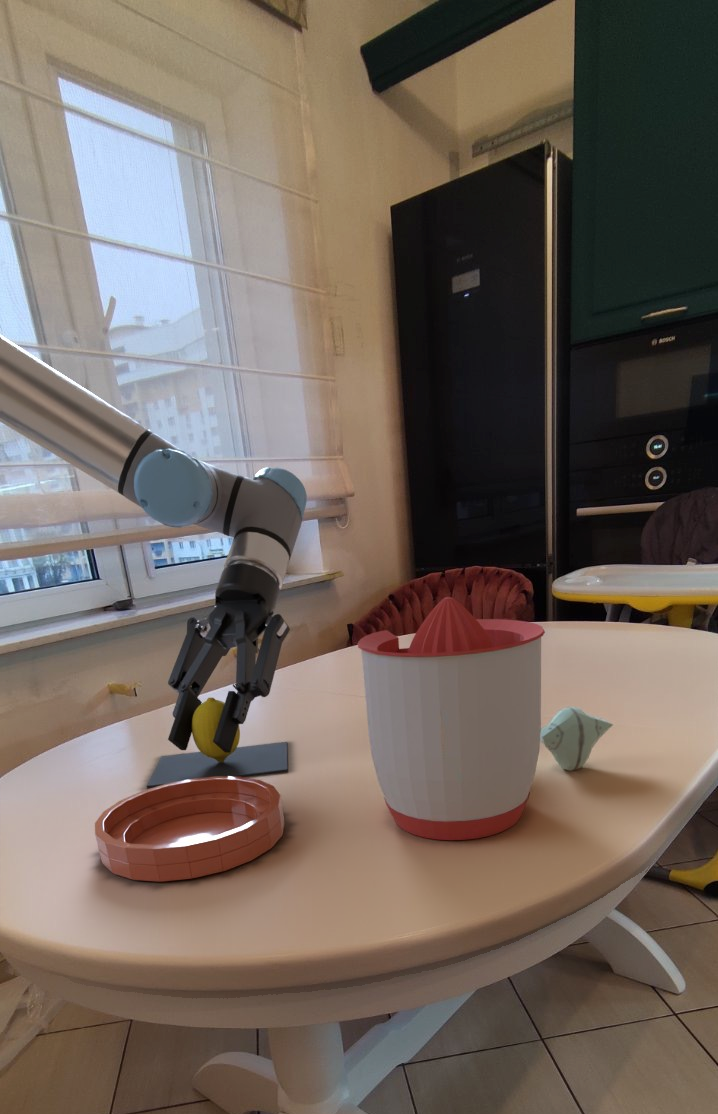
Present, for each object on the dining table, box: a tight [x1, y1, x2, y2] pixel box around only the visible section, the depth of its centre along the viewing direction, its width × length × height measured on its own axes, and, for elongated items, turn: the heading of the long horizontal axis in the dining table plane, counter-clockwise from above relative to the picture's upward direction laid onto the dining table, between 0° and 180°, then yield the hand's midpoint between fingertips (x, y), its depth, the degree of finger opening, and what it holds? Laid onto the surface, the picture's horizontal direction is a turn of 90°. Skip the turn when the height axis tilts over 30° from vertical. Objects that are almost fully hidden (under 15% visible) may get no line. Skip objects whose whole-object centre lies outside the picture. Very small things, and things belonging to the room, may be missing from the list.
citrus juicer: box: [357, 596, 546, 841], centre depth 64 cm, size 16×17×20 cm
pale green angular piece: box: [540, 706, 614, 771], centre depth 75 cm, size 8×4×7 cm, turn 105°
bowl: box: [94, 776, 285, 882], centre depth 67 cm, size 17×17×4 cm
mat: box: [146, 741, 289, 790], centre depth 87 cm, size 16×11×1 cm
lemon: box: [191, 696, 241, 762], centre depth 86 cm, size 6×6×8 cm
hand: (199, 745), depth 83 cm, fingers closed on lemon, 5 cm apart
